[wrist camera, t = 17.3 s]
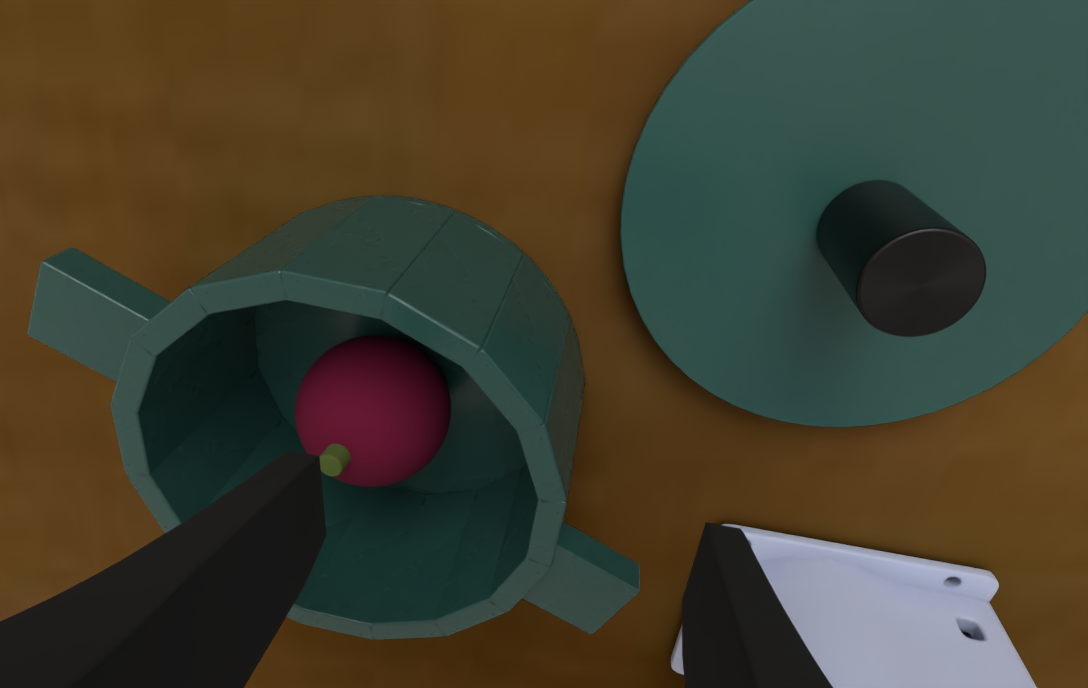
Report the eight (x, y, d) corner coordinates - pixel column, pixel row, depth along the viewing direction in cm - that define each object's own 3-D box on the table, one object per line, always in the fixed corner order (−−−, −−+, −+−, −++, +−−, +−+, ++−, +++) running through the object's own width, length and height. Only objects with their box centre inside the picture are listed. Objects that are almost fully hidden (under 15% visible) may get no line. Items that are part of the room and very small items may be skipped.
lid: (847, -191, 13) (937, -269, 9) (1254, 145, 15) (1478, 203, 11) (538, 269, 19) (510, 346, 15) (860, 470, 21) (912, 587, 17)
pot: (222, 57, 17) (44, 88, 12) (728, 376, 20) (757, 512, 15) (130, 358, 23) (-20, 466, 18) (537, 577, 25) (509, 728, 20)
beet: (474, 326, 20) (410, 415, 15) (466, 442, 22) (408, 549, 17) (339, 298, 20) (241, 376, 16) (344, 414, 22) (259, 510, 18)
